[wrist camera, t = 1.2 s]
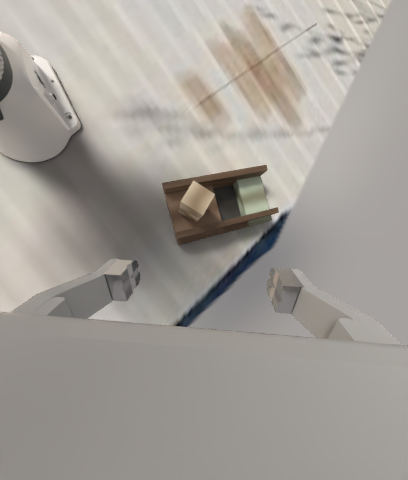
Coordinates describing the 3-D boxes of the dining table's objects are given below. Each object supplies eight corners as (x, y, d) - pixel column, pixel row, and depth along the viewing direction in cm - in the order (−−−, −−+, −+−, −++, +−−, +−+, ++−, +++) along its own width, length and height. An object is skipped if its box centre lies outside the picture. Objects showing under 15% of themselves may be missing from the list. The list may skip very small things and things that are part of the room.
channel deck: (163, 188, 37) (161, 176, 31) (251, 171, 42) (264, 159, 36) (178, 245, 37) (179, 244, 31) (265, 221, 42) (280, 217, 36)
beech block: (178, 212, 34) (180, 201, 26) (188, 195, 35) (193, 180, 27) (196, 222, 35) (203, 215, 27) (205, 206, 36) (215, 194, 28)
